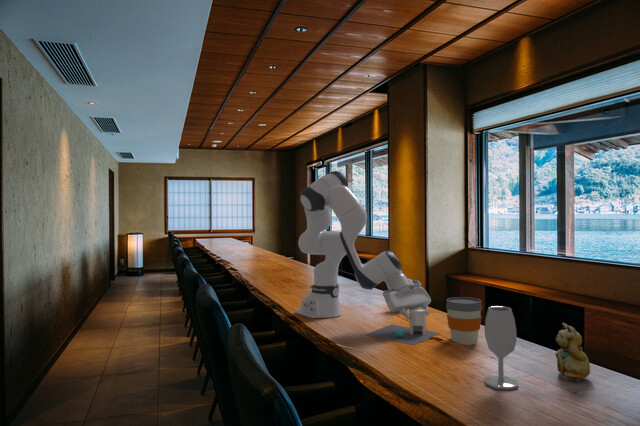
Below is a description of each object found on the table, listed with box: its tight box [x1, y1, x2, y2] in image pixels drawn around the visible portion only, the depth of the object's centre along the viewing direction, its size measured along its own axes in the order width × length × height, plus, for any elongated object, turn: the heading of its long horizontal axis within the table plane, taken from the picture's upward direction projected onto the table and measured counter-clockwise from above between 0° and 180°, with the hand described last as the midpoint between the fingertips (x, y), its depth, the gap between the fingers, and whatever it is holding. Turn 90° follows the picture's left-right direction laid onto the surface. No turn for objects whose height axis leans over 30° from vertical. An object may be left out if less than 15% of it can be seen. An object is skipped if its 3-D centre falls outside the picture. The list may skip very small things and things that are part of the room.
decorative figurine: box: [555, 322, 591, 382], centre depth 129 cm, size 10×8×15 cm
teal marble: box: [396, 330, 404, 338], centre depth 171 cm, size 3×3×3 cm
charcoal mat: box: [364, 324, 441, 346], centre depth 176 cm, size 22×20×1 cm
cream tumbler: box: [408, 307, 427, 335], centre depth 177 cm, size 6×6×9 cm
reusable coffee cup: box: [445, 296, 483, 346], centre depth 166 cm, size 13×13×15 cm
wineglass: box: [484, 305, 519, 391], centre depth 125 cm, size 9×9×21 cm
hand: (418, 316), depth 176 cm, fingers open, 8 cm apart
